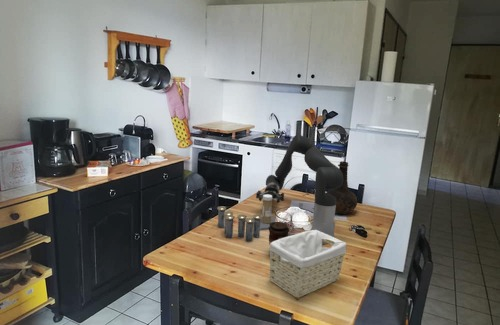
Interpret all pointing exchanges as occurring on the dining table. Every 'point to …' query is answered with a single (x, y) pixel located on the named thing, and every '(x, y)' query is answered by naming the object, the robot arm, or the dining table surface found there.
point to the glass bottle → (344, 193)
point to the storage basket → (305, 262)
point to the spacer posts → (239, 224)
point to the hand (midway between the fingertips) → (268, 200)
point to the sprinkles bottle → (267, 208)
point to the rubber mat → (265, 224)
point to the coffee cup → (277, 231)
